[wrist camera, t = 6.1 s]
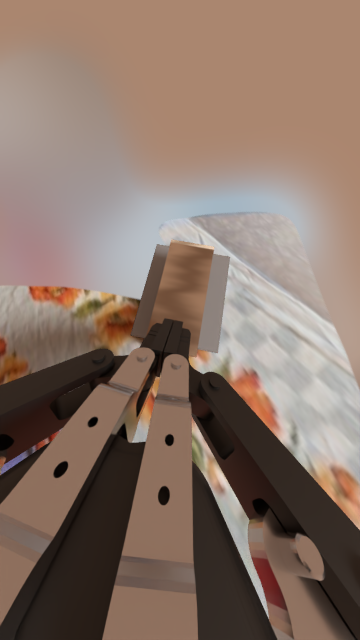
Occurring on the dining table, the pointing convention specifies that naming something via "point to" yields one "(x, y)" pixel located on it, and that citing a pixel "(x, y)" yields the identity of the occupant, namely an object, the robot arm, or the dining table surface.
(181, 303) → the walnut block
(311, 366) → the dining table surface
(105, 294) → the dining table surface
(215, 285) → the rubber mat
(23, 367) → the dining table surface
